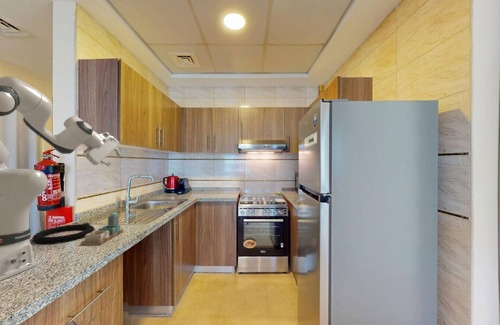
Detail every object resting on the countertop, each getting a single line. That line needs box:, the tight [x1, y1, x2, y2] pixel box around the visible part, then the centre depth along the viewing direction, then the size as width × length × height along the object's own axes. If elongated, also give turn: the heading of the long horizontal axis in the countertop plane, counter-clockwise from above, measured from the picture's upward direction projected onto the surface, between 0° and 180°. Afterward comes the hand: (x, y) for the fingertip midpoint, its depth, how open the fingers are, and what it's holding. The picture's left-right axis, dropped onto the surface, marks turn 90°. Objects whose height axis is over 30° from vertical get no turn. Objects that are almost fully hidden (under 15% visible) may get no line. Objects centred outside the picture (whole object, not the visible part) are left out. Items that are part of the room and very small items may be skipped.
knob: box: [107, 212, 120, 225], centre depth 146 cm, size 4×4×10 cm
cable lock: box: [31, 222, 95, 245], centre depth 134 cm, size 28×4×30 cm
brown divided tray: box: [80, 224, 124, 246], centre depth 129 cm, size 22×10×4 cm, turn 2°
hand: (115, 160), depth 136 cm, fingers open, 8 cm apart
